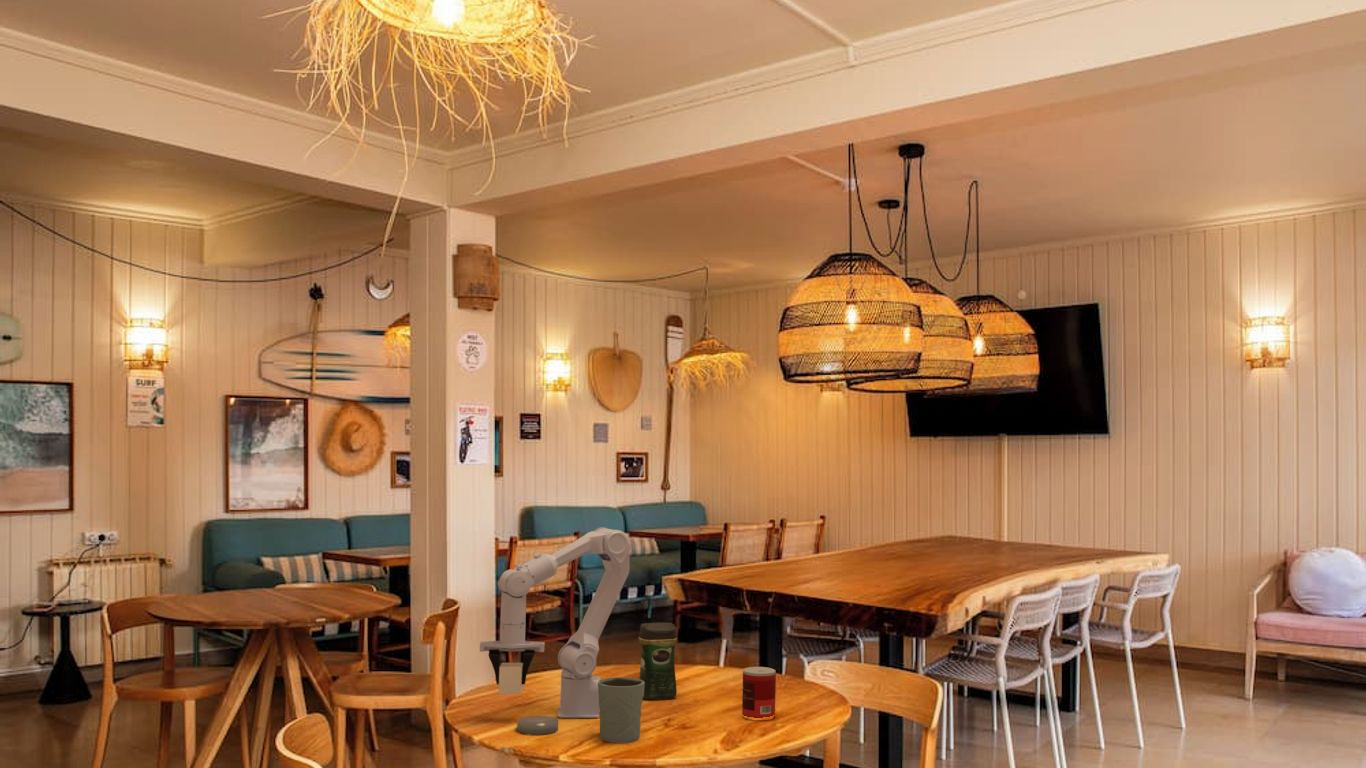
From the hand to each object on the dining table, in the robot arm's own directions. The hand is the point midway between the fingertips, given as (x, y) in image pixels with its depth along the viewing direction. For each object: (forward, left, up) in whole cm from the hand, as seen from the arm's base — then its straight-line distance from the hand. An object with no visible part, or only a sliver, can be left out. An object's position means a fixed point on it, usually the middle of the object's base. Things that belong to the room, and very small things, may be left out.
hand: (511, 683), depth 242 cm
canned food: (-58, -4, -9) cm, 59 cm away
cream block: (0, 0, -2) cm, 2 cm away
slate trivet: (-7, +8, -8) cm, 13 cm away
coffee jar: (-35, -24, -9) cm, 43 cm away
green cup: (-25, +14, -9) cm, 30 cm away
